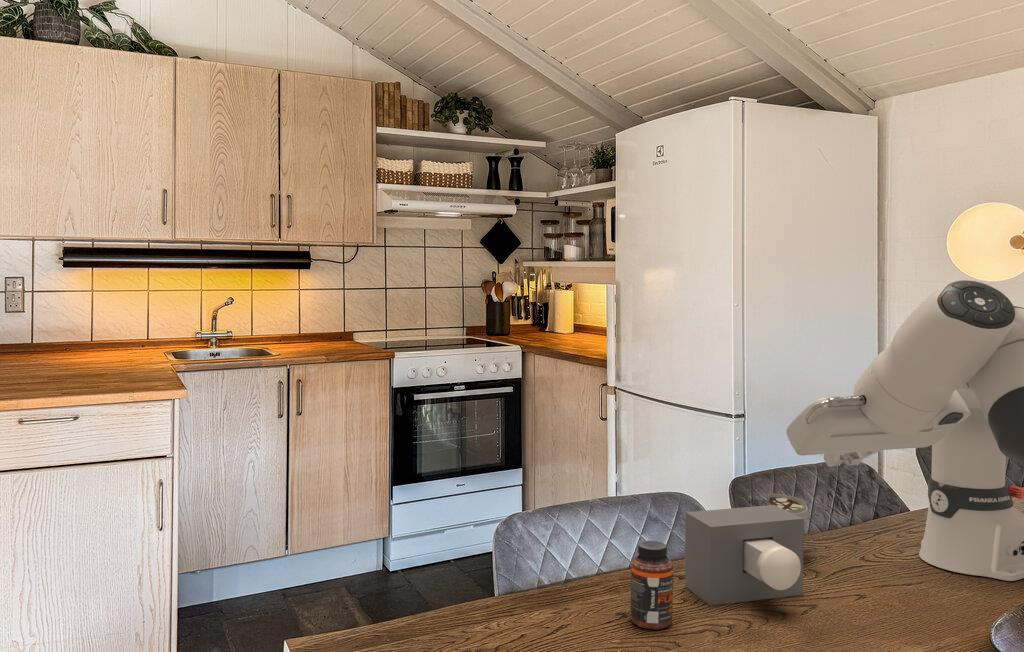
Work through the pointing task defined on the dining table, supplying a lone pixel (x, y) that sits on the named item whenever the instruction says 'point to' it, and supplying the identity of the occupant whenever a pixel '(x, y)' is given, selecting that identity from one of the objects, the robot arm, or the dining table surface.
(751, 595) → the knob mount
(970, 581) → the dining table surface
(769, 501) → the food container
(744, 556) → the push knob
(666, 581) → the supplement bottle
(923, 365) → the robot arm
